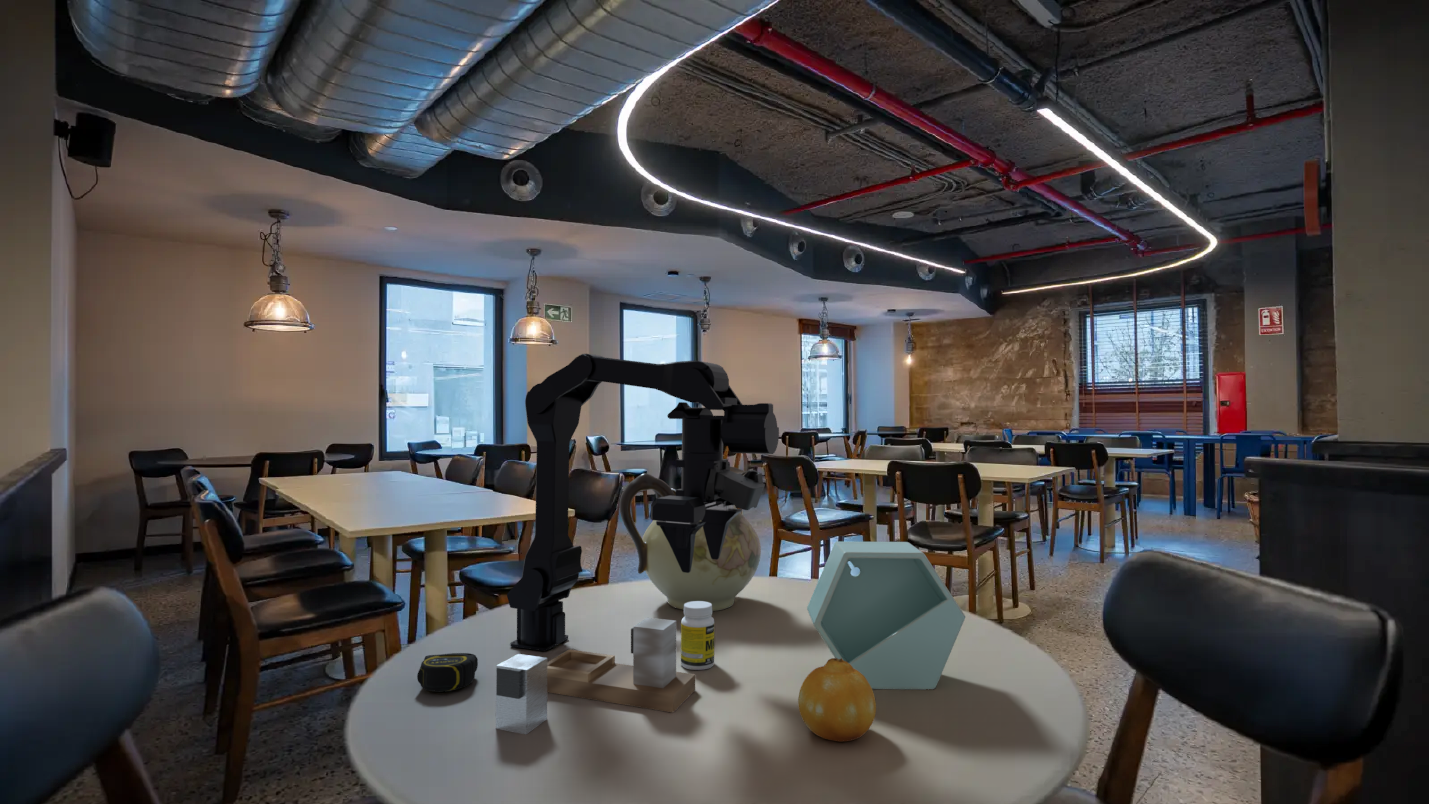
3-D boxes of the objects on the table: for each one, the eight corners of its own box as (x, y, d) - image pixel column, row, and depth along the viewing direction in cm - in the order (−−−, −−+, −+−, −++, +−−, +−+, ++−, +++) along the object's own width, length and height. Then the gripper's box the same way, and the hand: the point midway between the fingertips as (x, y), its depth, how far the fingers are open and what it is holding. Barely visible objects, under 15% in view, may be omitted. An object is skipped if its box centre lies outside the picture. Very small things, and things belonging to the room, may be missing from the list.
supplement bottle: (710, 672, 93) (710, 610, 93) (677, 669, 94) (677, 608, 94) (717, 660, 98) (717, 600, 98) (685, 657, 99) (685, 599, 99)
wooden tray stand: (529, 689, 87) (529, 618, 87) (559, 670, 94) (560, 604, 94) (673, 712, 80) (673, 635, 80) (695, 690, 87) (695, 619, 87)
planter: (878, 725, 87) (789, 588, 88) (866, 699, 95) (784, 574, 95) (990, 653, 87) (900, 516, 87) (968, 633, 95) (886, 508, 95)
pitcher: (777, 595, 133) (777, 467, 133) (730, 629, 111) (730, 476, 112) (675, 583, 142) (675, 463, 143) (613, 613, 121) (614, 471, 121)
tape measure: (479, 676, 92) (479, 647, 92) (470, 696, 85) (470, 666, 85) (425, 679, 91) (425, 651, 91) (411, 700, 84) (412, 669, 84)
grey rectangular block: (492, 731, 76) (492, 667, 76) (517, 714, 80) (518, 653, 80) (522, 736, 74) (523, 671, 74) (547, 719, 78) (547, 657, 79)
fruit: (848, 688, 82) (825, 638, 79) (900, 719, 75) (877, 665, 72) (800, 737, 78) (775, 686, 75) (850, 774, 71) (824, 720, 69)
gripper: (729, 457, 83) (728, 587, 82) (779, 450, 100) (779, 558, 99) (649, 454, 87) (647, 577, 87) (710, 448, 104) (709, 551, 104)
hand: (701, 565), depth 94 cm, fingers open, 9 cm apart
